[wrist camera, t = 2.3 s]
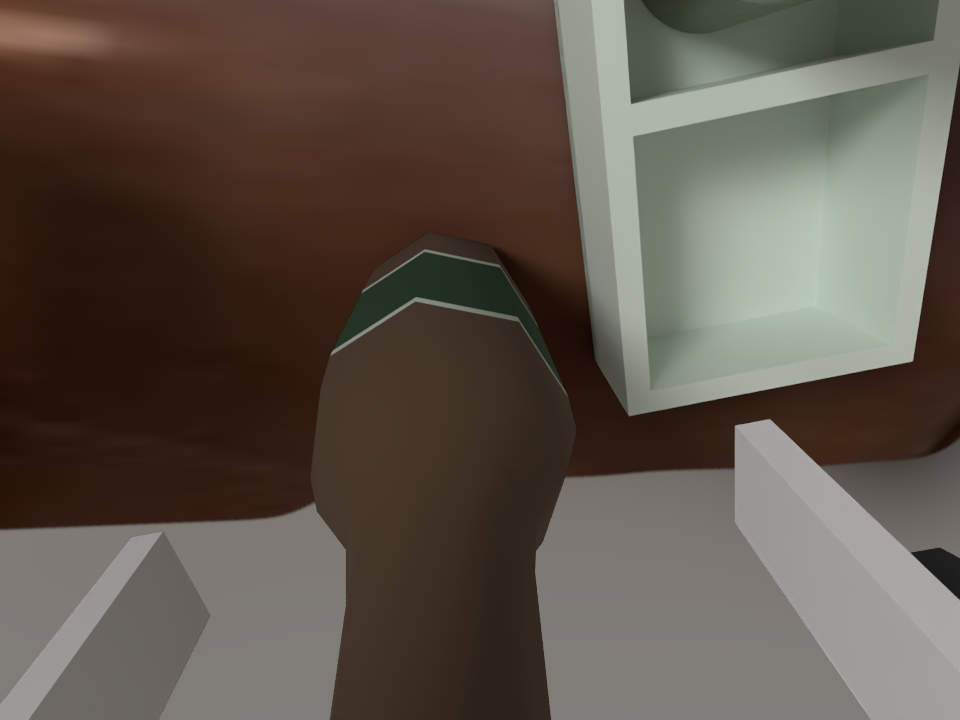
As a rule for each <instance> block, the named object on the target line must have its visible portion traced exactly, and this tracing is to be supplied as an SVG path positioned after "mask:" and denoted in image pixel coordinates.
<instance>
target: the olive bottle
mask: <svg viewBox="0 0 960 720" xmlns="http://www.w3.org/2000/svg"><path fill="white" fill-rule="evenodd" d="M641 1H642V2H643V3H644V5H645V6H646V8H647V9H648V10H649V11H650V12H651V13H652V14H653V15H654V17H655V18H657V19H658V20H659V21H661V22H662V23H663V24H665V25H667V26H669V27H671V28H672V29H675V30H678V31H681V32H686V33H691V34H704V33H711V32H715V31H719V30H722V29H725V28H728V27H732V26H735V25H738V24H741V23H744V22H747V21H750V20H753V19H756V18H759V17H762V16H765V15H769V14H772V13H775V12H778V11H781V10H784V9H787V8H790V7H793V6H796V5H799V4H802V3H805V2H809V1H812V0H641Z"/></svg>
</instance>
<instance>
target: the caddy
mask: <svg viewBox="0 0 960 720" xmlns="http://www.w3.org/2000/svg"><path fill="white" fill-rule="evenodd" d="M554 7H555V15H556V24H557V33H558V41H559V50H560V59H561V68H562V76H563V85H564V94H565V102H566V111H567V120H568V129H569V137H570V146H571V155H572V163H573V172H574V181H575V190H576V198H577V207H578V216H579V224H580V233H581V242H582V251H583V259H584V268H585V277H586V285H587V294H588V303H589V312H590V320H591V329H592V338H593V346H594V355H595V361H596V363H597V364H598V366H599V368H600V369H601V371H602V373H603V374H604V376H605V378H606V379H607V381H608V383H609V384H610V386H611V388H612V389H613V391H614V393H615V394H616V396H617V398H618V399H619V401H620V402H621V404H622V406H623V407H624V409H625V411H626V412H627V414H628V416H633V415H638V414H643V413H648V412H653V411H658V410H664V409H669V408H674V407H679V406H684V405H689V404H695V403H700V402H705V401H710V400H715V399H720V398H726V397H731V396H736V395H741V394H746V393H751V392H757V391H762V390H767V389H772V388H777V387H782V386H788V385H793V384H798V383H803V382H808V381H813V380H819V379H824V378H829V377H834V376H839V375H844V374H850V373H855V372H860V371H865V370H870V369H875V368H881V367H886V366H891V365H896V364H901V363H906V362H912V361H913V356H914V350H915V344H916V337H917V331H918V325H919V318H920V312H921V306H922V300H923V293H924V287H925V281H926V274H927V268H928V262H929V255H930V249H931V243H932V236H933V230H934V224H935V217H936V211H937V205H938V198H939V192H940V186H941V179H942V173H943V167H944V160H945V154H946V148H947V142H948V135H949V129H950V123H951V116H952V110H953V104H954V97H955V91H956V85H957V78H958V72H959V66H960V0H812V1H809V2H805V3H802V4H799V5H796V6H793V7H790V8H787V9H784V10H781V11H778V12H775V13H772V14H769V15H765V16H762V17H759V18H756V19H753V20H750V21H747V22H744V23H741V24H738V25H735V26H732V27H728V28H725V29H722V30H719V31H715V32H711V33H704V34H691V33H686V32H681V31H678V30H675V29H672V28H671V27H669V26H667V25H665V24H663V23H662V22H661V21H659V20H658V19H657V18H655V17H654V15H653V14H652V13H651V12H650V11H649V10H648V9H647V8H646V6H645V5H644V3H643V2H642V1H641V0H554Z"/></svg>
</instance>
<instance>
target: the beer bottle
mask: <svg viewBox="0 0 960 720" xmlns="http://www.w3.org/2000/svg"><path fill="white" fill-rule="evenodd" d="M576 432H577V429H576V425H575V421H574V418H573V414H572V410H571V406H570V402H569V398H568V396H567V393H566V391H565V389H564V386H563V384H562V382H561V379H560V377H559V375H558V372H557V370H556V368H555V365H554V363H553V361H552V358H551V356H550V354H549V351H548V349H547V347H546V344H545V342H544V340H543V337H542V335H541V332H540V330H539V328H538V325H537V323H536V321H535V318H534V316H533V314H532V311H531V309H530V307H529V305H528V303H527V302H526V300H525V299H524V297H523V295H522V294H521V292H520V291H519V289H518V287H517V286H516V284H515V283H514V281H513V280H512V278H511V276H510V275H509V273H508V272H507V270H506V268H505V267H504V265H503V264H502V262H501V260H500V259H499V257H498V256H497V254H496V253H495V251H494V249H493V248H492V246H491V245H489V244H484V243H480V242H475V241H470V240H465V239H461V238H456V237H451V236H447V235H442V234H437V233H433V232H428V233H426V234H425V235H423V236H422V237H420V238H419V239H417V240H416V241H414V242H413V243H411V244H410V245H408V246H407V247H405V248H404V249H402V250H401V251H399V252H398V253H396V254H395V255H393V256H392V257H390V258H389V259H387V260H386V261H384V262H383V263H381V264H380V265H378V266H377V268H376V269H375V270H374V271H373V273H372V274H371V275H370V277H369V279H368V281H367V283H366V285H365V287H364V289H363V291H362V293H361V295H360V297H359V299H358V301H357V303H356V305H355V307H354V309H353V311H352V313H351V315H350V317H349V319H348V321H347V323H346V325H345V327H344V329H343V331H342V333H341V335H340V337H339V339H338V341H337V343H336V345H335V347H334V349H333V351H332V353H331V355H330V358H329V362H328V365H327V368H326V372H325V375H324V378H323V382H322V385H321V390H320V399H319V407H318V416H317V424H316V433H315V441H314V450H313V458H312V467H311V475H310V479H311V484H312V489H313V494H314V499H315V504H316V508H317V512H318V513H319V515H320V516H321V517H322V518H323V520H324V521H325V523H326V524H327V525H328V526H329V528H330V529H331V530H332V532H333V533H334V534H335V536H336V537H337V538H338V540H339V541H340V542H341V544H342V545H343V546H344V548H345V549H346V610H345V616H344V624H343V631H342V638H341V645H340V653H339V659H338V666H337V673H336V680H335V688H334V695H333V702H332V709H331V716H330V720H551V716H550V706H549V697H548V689H547V679H546V669H545V660H544V651H543V642H542V632H541V623H540V614H539V605H538V595H537V586H536V577H535V559H536V550H537V549H538V547H539V546H540V545H541V544H542V542H543V540H544V537H545V534H546V531H547V528H548V525H549V522H550V519H551V516H552V513H553V511H554V508H555V505H556V502H557V499H558V496H559V493H560V490H561V487H562V485H563V482H564V479H565V476H566V473H567V470H568V467H569V463H570V458H571V454H572V449H573V445H574V441H575V436H576Z"/></svg>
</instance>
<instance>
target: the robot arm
mask: <svg viewBox="0 0 960 720" xmlns="http://www.w3.org/2000/svg"><path fill="white" fill-rule="evenodd" d="M735 524H736V525H737V527H738V528H739V529H740V531H741V532H742V534H743V535H744V537H745V538H746V540H747V541H748V542H749V544H750V545H751V547H752V548H753V550H754V551H755V552H756V554H757V555H758V557H759V558H760V560H761V561H762V563H763V564H764V566H765V567H766V568H767V570H768V571H769V573H770V574H771V576H772V577H773V579H774V580H775V581H776V583H777V584H778V586H779V587H780V589H781V590H782V592H783V593H784V594H785V596H786V597H787V599H788V600H789V602H790V603H791V605H792V606H793V607H794V609H795V610H796V612H797V613H798V615H799V616H800V618H801V619H802V621H803V622H804V623H805V625H806V626H807V628H808V629H809V631H810V632H811V633H812V635H813V636H814V638H815V639H816V641H817V642H818V644H819V645H820V647H821V648H822V649H823V651H824V652H825V654H826V655H827V657H828V658H829V660H830V661H831V662H832V664H833V665H834V667H835V668H836V670H837V671H838V673H839V674H840V675H841V677H842V678H843V680H844V681H845V683H846V684H847V686H848V687H849V689H850V690H851V691H852V693H853V694H854V696H855V697H856V699H857V700H858V702H859V703H860V704H861V706H862V707H863V709H864V710H865V712H866V713H867V715H868V716H869V717H870V719H871V720H960V558H958V557H956V556H955V555H953V554H951V553H949V552H947V551H945V550H943V549H941V548H935V549H929V550H923V551H918V552H912V553H910V552H909V551H908V550H907V549H906V548H904V547H903V546H902V545H901V544H900V543H899V542H898V541H897V540H896V539H895V538H894V537H893V536H892V535H891V534H890V533H889V532H888V531H887V530H886V529H885V528H884V527H882V526H881V525H880V524H879V523H878V522H877V521H876V520H875V519H874V518H873V517H872V516H871V515H870V514H869V513H868V512H867V511H866V510H865V509H864V508H863V507H861V506H860V505H859V504H858V503H857V502H856V501H855V500H854V499H853V498H852V497H851V496H850V495H849V494H848V493H847V492H846V491H845V490H844V489H843V488H841V486H839V485H838V484H837V483H836V482H835V481H834V480H833V479H832V478H831V477H830V476H829V475H828V474H827V473H826V472H825V471H824V470H823V469H822V468H821V467H820V466H818V465H817V464H816V463H815V462H814V461H813V460H812V459H811V458H810V457H809V456H808V455H807V454H806V453H805V452H804V451H803V450H802V449H801V448H800V447H799V446H798V445H796V444H795V443H794V442H793V441H792V440H791V439H790V438H789V437H788V436H787V435H786V434H785V433H784V432H783V431H782V430H781V429H780V428H779V427H778V426H777V425H776V424H774V423H773V422H772V421H771V420H770V419H769V420H763V421H758V422H752V423H747V424H742V425H736V426H735ZM209 617H210V614H209V612H208V610H207V608H206V607H205V605H204V603H203V601H202V600H201V598H200V596H199V594H198V592H197V591H196V589H195V587H194V585H193V584H192V582H191V580H190V578H189V576H188V575H187V573H186V571H185V569H184V568H183V566H182V564H181V562H180V560H179V559H178V557H177V555H176V553H175V552H174V550H173V548H172V546H171V545H170V543H169V541H168V539H167V537H166V536H165V534H164V532H163V531H162V532H157V533H151V534H146V535H141V536H135V537H131V538H130V540H129V541H128V542H127V544H126V545H125V546H124V547H123V549H122V550H121V551H120V552H119V554H118V555H117V556H116V557H115V559H114V560H113V561H112V563H111V564H110V565H109V567H108V568H107V569H106V570H105V572H104V573H103V574H102V575H101V577H100V578H99V579H98V581H97V582H96V583H95V584H94V586H93V587H92V588H91V590H90V591H89V592H88V594H87V595H86V596H85V597H84V598H83V600H82V601H81V602H80V604H79V605H78V606H77V607H76V609H75V610H74V611H73V613H72V614H71V615H70V616H69V618H68V619H67V620H66V621H65V623H64V624H63V625H62V627H61V628H60V629H59V630H58V632H57V633H56V634H55V636H54V637H53V638H52V639H51V641H50V642H49V643H48V645H47V646H46V647H45V648H44V650H43V651H42V652H41V653H40V655H39V656H38V657H37V659H36V660H35V661H34V663H33V664H32V665H31V666H30V668H29V669H28V670H27V671H26V673H25V674H24V675H23V677H22V678H21V679H20V680H19V682H18V683H17V684H16V686H15V687H14V688H13V689H12V691H11V692H10V693H9V694H8V696H7V697H6V698H5V700H4V701H3V702H2V703H1V705H0V720H159V718H160V716H161V714H162V712H163V710H164V708H165V706H166V704H167V701H168V700H169V697H170V696H171V694H172V691H173V690H174V688H175V685H176V684H177V682H178V680H179V678H180V676H181V674H182V672H183V669H184V668H185V666H186V664H187V661H188V659H189V657H190V655H191V653H192V651H193V649H194V647H195V645H196V643H197V641H198V639H199V637H200V635H201V633H202V631H203V629H204V627H205V625H206V623H207V621H208V619H209Z"/></svg>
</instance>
